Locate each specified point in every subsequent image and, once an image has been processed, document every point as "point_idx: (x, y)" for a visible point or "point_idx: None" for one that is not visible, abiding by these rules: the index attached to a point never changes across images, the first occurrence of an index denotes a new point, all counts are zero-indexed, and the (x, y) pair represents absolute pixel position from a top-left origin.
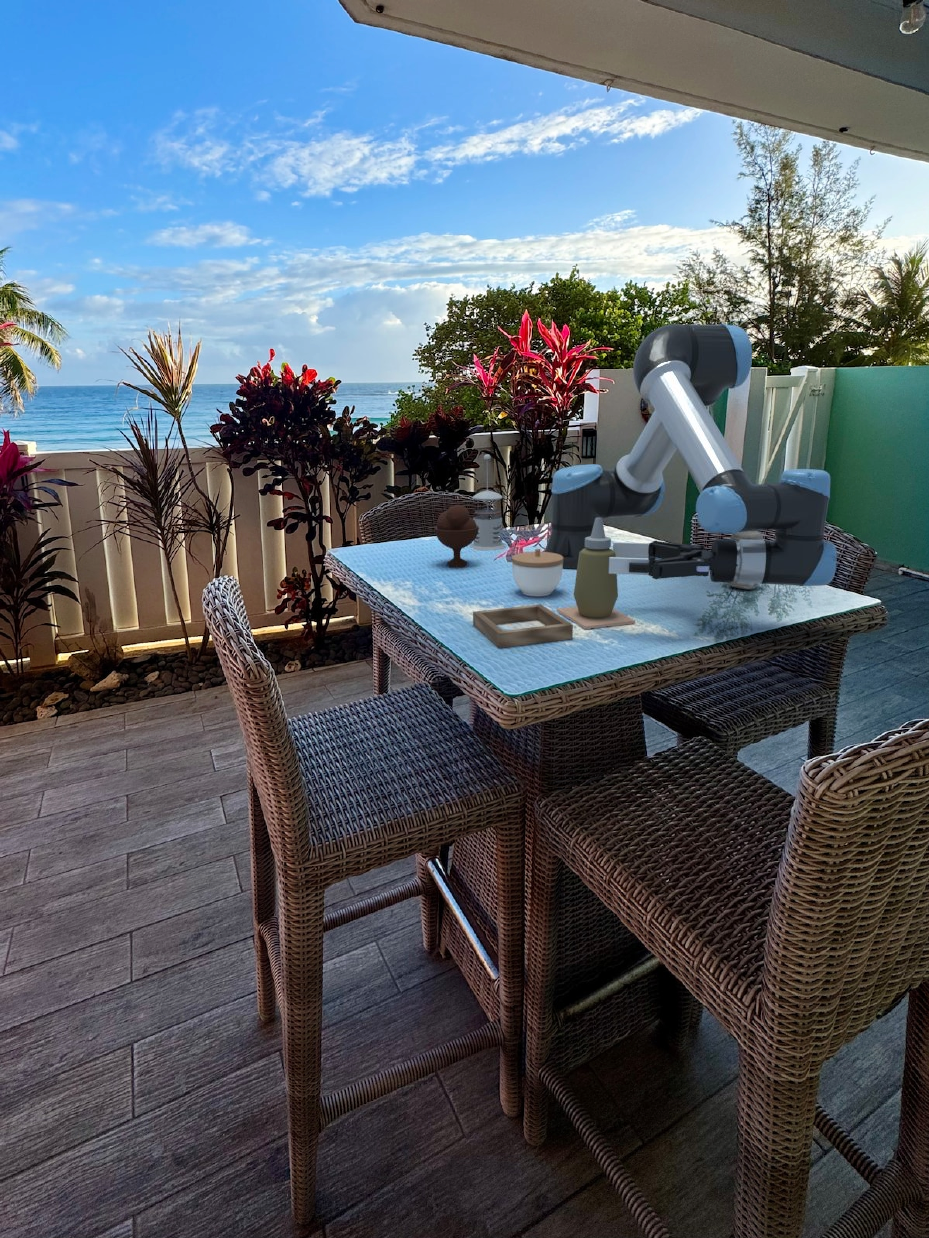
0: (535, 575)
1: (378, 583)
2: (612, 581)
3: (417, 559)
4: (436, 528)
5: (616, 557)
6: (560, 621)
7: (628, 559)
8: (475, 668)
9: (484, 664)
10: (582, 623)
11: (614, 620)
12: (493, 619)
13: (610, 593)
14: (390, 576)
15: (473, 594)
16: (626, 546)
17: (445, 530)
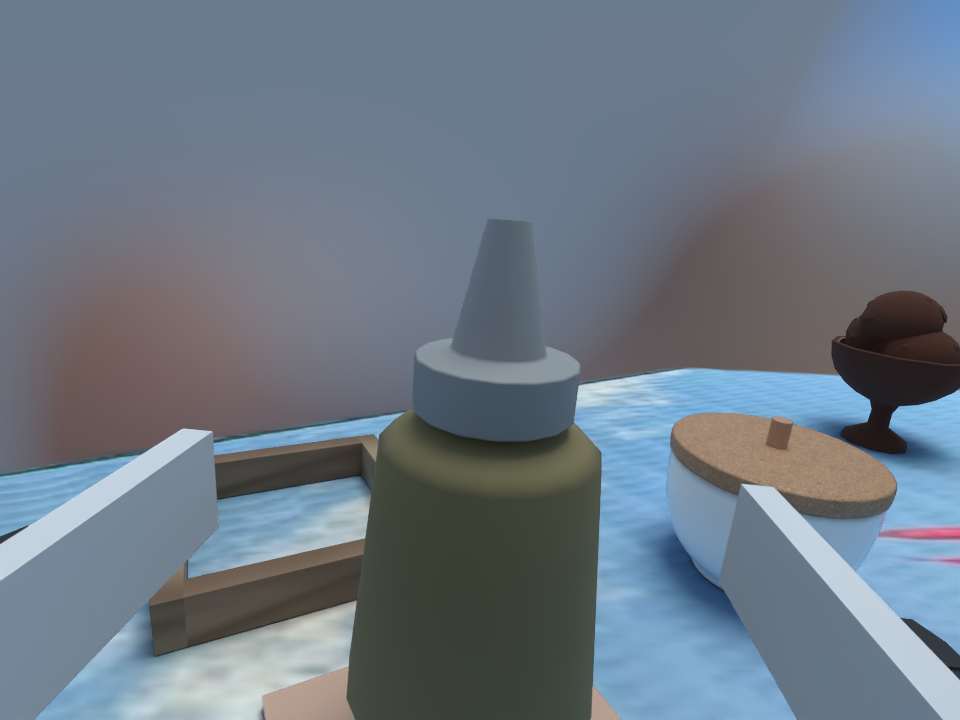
0: (673, 486)
1: (633, 383)
2: (393, 650)
3: (846, 405)
4: (845, 337)
5: (180, 451)
6: (217, 573)
7: (78, 499)
8: (43, 471)
9: (58, 481)
10: (311, 686)
11: None
12: (372, 477)
13: (367, 701)
14: (689, 389)
15: (632, 463)
16: (785, 574)
17: (836, 341)
